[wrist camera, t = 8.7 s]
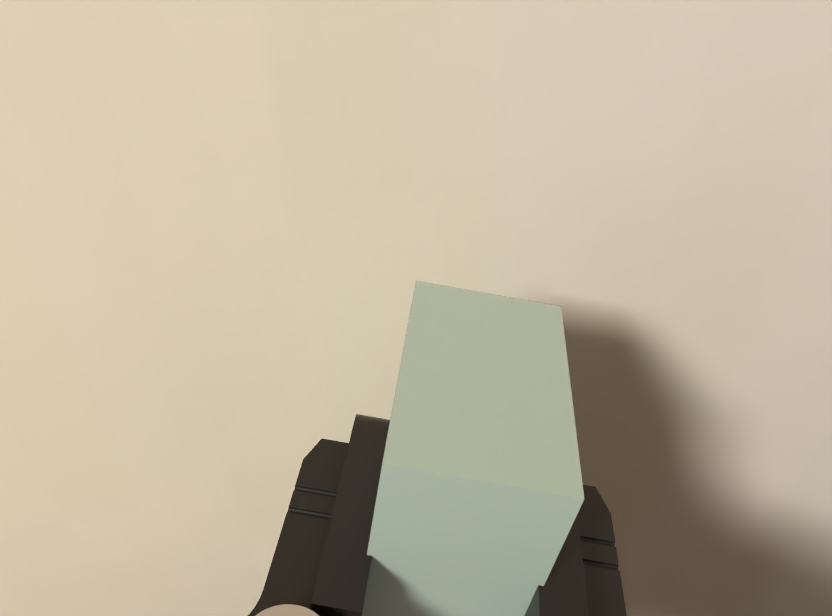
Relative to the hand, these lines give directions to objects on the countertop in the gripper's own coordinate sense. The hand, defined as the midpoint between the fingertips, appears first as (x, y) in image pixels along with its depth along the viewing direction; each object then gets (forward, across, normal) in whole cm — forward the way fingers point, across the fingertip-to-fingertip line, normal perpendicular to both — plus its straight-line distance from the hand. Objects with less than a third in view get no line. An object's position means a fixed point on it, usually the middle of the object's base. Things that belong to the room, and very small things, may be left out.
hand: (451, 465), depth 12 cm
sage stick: (+1, 0, +8) cm, 8 cm away
